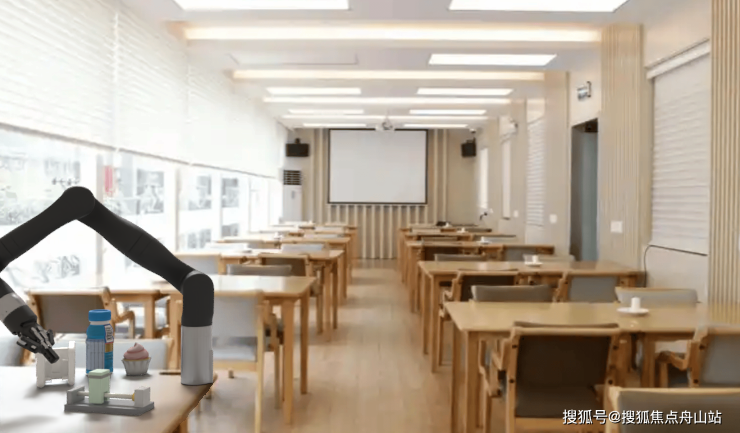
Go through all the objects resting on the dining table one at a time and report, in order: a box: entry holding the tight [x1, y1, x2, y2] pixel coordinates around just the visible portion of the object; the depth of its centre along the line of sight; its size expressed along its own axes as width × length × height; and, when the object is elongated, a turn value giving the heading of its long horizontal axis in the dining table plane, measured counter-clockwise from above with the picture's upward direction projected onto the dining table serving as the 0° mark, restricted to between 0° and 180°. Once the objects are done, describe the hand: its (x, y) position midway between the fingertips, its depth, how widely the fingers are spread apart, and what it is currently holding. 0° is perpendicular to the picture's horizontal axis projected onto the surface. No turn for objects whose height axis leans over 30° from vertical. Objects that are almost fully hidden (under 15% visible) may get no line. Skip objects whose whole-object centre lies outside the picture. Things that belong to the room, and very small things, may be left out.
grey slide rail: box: [63, 385, 155, 416], centre depth 195 cm, size 21×8×6 cm, turn 78°
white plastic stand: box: [34, 340, 76, 389], centre depth 223 cm, size 15×11×12 cm
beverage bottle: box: [84, 308, 115, 376], centre depth 236 cm, size 8×8×20 cm
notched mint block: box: [87, 369, 111, 404], centre depth 196 cm, size 4×4×8 cm
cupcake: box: [120, 342, 152, 377], centre depth 237 cm, size 9×9×10 cm
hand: (55, 361), depth 198 cm, fingers closed
